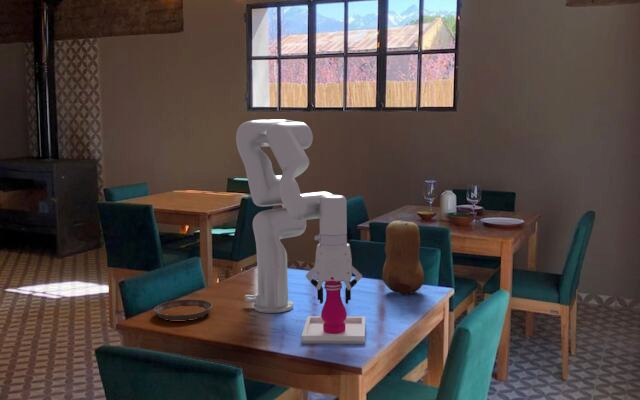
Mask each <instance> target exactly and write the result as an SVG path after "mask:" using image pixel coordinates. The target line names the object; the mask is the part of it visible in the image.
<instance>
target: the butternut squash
mask: <svg viewBox="0 0 640 400" xmlns="http://www.w3.org/2000/svg"><path fill="white" fill-rule="evenodd" d="M420 236H421V235H420V227H419V225H417V224H416V223H415V222H413V221H405V220H398V219H397V220H393V221H391V222H390V223H388V225H386V229H385V246H384V252H385V255H386V258H385V262H384V264H383V267H382V278H381V279H382V281H383V283H384V284H385V285H386V287H387V288H388V289H389V290H390V291H392V292H395V293H398V294H401V295H402V296H404V295H405V296H407V295H411V294H413V293H416V292H417V291H419V290H420V289H421V287H422V286H423V283H424V280H425V279H424V277H425V275H424V269H423V266H422V264H421V261H420V256H419V255H420V250H421V237H420Z"/></svg>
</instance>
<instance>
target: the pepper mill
mask: <svg viewBox="0 0 640 400" xmlns="http://www.w3.org/2000/svg"><path fill="white" fill-rule="evenodd" d="M330 279H332V280H334V278H333V277H331V278H330ZM323 284H324V287H323V289H324V290H325V293H326V294H325V295H326V298H325V301H324V304H323V306H322V308H321V311H320V313H321V315H320V316H321V318H322V320H323V321H324V322H325V323H324V324H323V330H324V332H326V333H331V334H336V333H342V332H344V331H345V323H344V321H345V319H346V317H348V314H347V309H346V307H345V304H344V303H343V300H342V297H341V290H342V288H343V286H342V285H343V283H342V281H324V283H323Z"/></svg>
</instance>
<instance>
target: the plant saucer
mask: <svg viewBox="0 0 640 400" xmlns="http://www.w3.org/2000/svg"><path fill="white" fill-rule="evenodd" d="M178 306H199V307H203V308H205V309H206V310H204V311H201V312H197V313H192V314H184V315H168V314H162V313H160V312H161V311H164V310H166V309H169V308H172V307H178ZM212 307H213V304H212V302H210V301H207V300H204V299H203V300H202V299H193V298H191V299H189V298H188V299H186V298H185V299H176V300H170V301H167V302H162V303H160V304H158V305H157V306H155V307H154V308H153V311H154V313H156V315H157V316H158V317H159V318H160V319H161V318H163V319H168V320H189V319H195V318H200V317H202V316H204V317H205V315H206V314H207V315H208V314H209V312H210V311H211V309H212ZM207 315H206V316H207ZM202 318H203V317H202ZM163 319H162V320H163ZM200 319H201V318H200Z"/></svg>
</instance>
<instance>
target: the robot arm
mask: <svg viewBox="0 0 640 400" xmlns="http://www.w3.org/2000/svg"><path fill="white" fill-rule="evenodd" d="M235 135H236V136H235V141H236V147H237V148H236V149H237V151H238V154H239V156H240V158H241V161H242V163H243V166H244V168H245V172H246V178H247V182H248V187H249V191H250V193H249V194H250V196H251V200H252V202H253V204H254V205H256V206H257V207H272V206H279V205H280V206H282V208H274V209H273V208H271V209H266V210H262V211H259V212H257V214H255V216H254V217H253V220H252V230H253V235H254V239H255V240H254V241H255V247H256V265H257V266H256V267H257V268H256V269H257V293H255V294H245V295H244V301H246V302H247V303H253V309H254V310H255V311H256V312H259V313H265V314H279V313H285V312H288V311H290V310H292V309H293V307H294V303H293V302H292V300H289V289H288V288H289V287H288V286H289V285H288V282H289V279H288V253H287V250H286V248H285V247H284V245H283V243H282V242H281V240H282V239H287V238H294V237H298V236H301V235H302V234H305V231H306V228H307V220H308V221H309V220H314V219H319V234H317V235H314V241H318V242H319V243H318V244H317V245H316V248H315V249H316V251H315V262H314V267H312V268H311V269H310V270H309V271H308V272H307V273H306V274H305V278H306V279H307V280H308V281H309V282H310V283H311V285H312V286H314V287H315V289H316V290H317V292H316V293H317V294H316V295H317V300H318V301H319V304H320V305H321V304H323V303H324V287H323V284H324V283H325V281H341V282H343V283H344V285H345V293H344V294H345V298H344V299H345V301H344V302H345V304H346V305H348V304H349V301H351V300H352V296H351V295H352V293H351V292H352V289H353V287H355V285H356V284H357V283H358V282H359V281H360V280H361V279H362V278H363V274H362V273H361V272H360V271H359V270H358V269H357V268H355V267H354V266H353V260H352V259H353V258H352V250H351V245H350V243H348V231H347V230H348V225H347V224H348V217H347V216H348V214H347V210H348V208H347V205H348V204H347V202H348V201H347V198H346V197H345V196H344V195H341V194H333V193H331V192H328V191H312V192H304V193H301V190H300V187H299V184H298V181H296V179H295V178H297V177H299V176H301V175H302V174H303V173H304V172H305V171H306V170H307V169H308V167H309V166H310V159H309V156H308V155H307V154H306V151H305V150H306V149H308V148H310V147H311V145H312V143H313V141H314V140H313V138H314V136H313V132H312V129H311V128H310V126H309V125H308V124H307V123H305V122H303V121H296V120H289V119H283V118H282V119H281V118H280V119H252V120H248V121H245V122H242V123H241V124H240V125H239V126H238V127H237V130H236V133H235ZM261 147H262V148H263V147H268V148H270V150H271V151H272V154H273V155H274V157H275V159H276V161H277V164H278V166H279V168H280V169H281V171H282V174H278V175H276V174H275V172H274V169H273V164H272V161H271V159H270V158H269V156H268V155H267V154H266V153H265V152H264V151H263V150H262V149H261ZM353 274H354V276H355V277H354V278H353ZM313 275H315V278H314V276H313ZM331 277H333V278H334V280H332V279H330V278H331ZM352 278H353V279H352Z"/></svg>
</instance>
